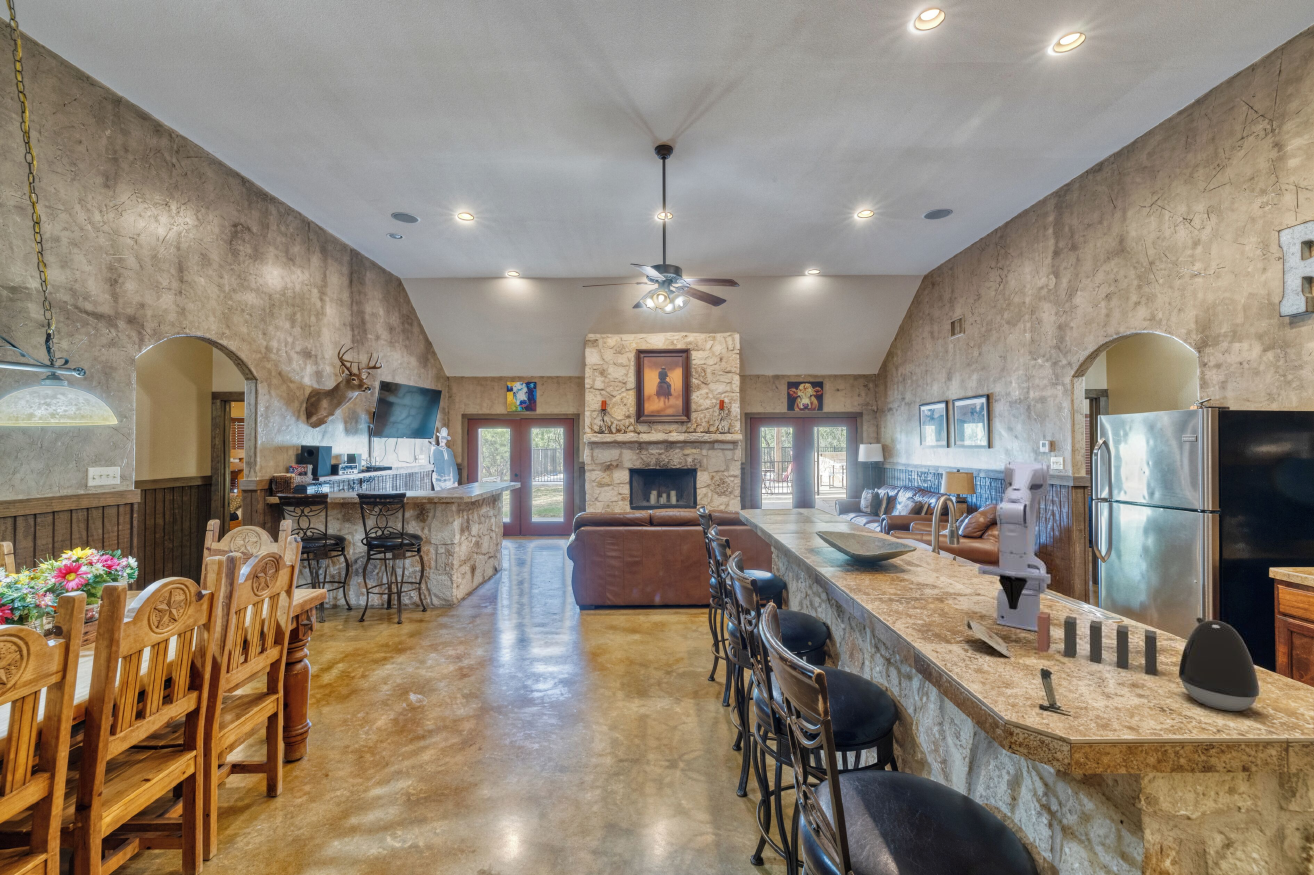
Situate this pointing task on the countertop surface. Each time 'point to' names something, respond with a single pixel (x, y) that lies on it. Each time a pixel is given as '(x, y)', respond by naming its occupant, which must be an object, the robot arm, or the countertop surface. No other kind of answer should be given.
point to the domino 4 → (1150, 652)
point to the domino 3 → (1122, 647)
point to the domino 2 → (1095, 641)
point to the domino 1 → (1070, 636)
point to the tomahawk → (1050, 693)
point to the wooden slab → (988, 637)
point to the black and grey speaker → (1218, 667)
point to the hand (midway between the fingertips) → (1013, 608)
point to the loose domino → (1043, 631)
